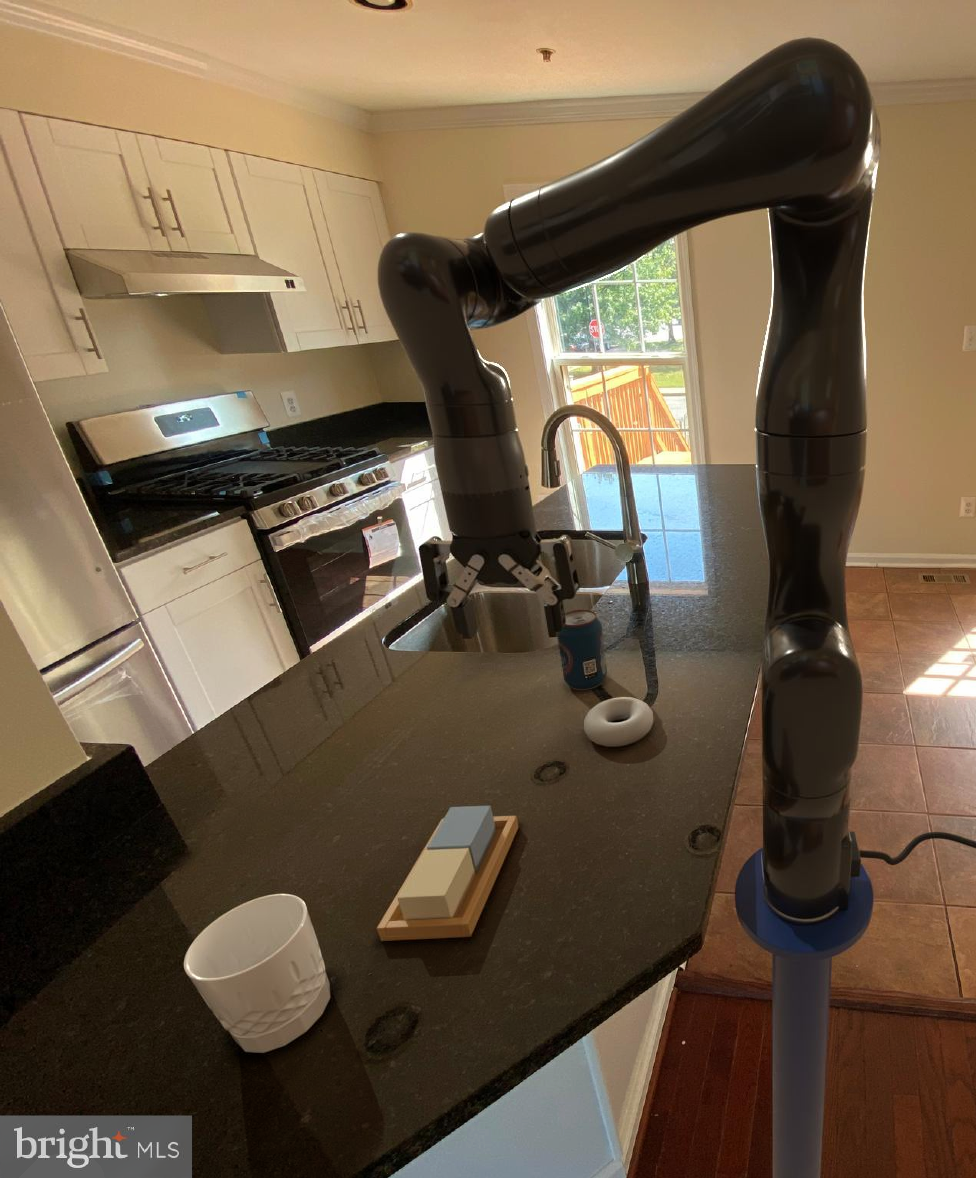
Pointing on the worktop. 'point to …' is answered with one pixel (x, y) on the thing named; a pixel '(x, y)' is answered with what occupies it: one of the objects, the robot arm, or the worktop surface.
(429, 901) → the pad
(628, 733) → the donut
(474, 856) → the pad
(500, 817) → the frame
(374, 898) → the worktop surface
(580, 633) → the soda can
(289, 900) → the white cup
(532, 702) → the worktop surface
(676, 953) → the worktop surface
